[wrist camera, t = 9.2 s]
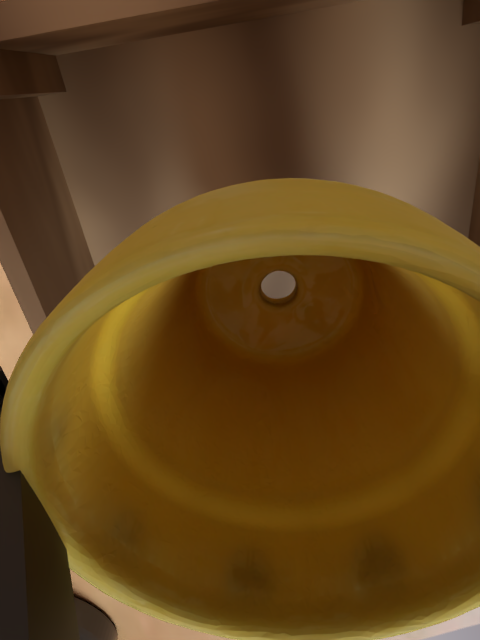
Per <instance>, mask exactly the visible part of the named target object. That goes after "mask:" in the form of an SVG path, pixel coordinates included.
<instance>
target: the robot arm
mask: <svg viewBox="0 0 480 640" xmlns="http://www.w3.org/2000/svg"><path fill="white" fill-rule="evenodd" d="M7 385H8V380H7V378H6V376H5V374H4V372H3V370H2V368H1V366H0V417H1V411H2V405H3V400H4V396H5V392H6V389H7ZM0 640H117V632H116V629H115V627H114V625H113V624H112V622H111V621H110V620H109V619H108V618H107V617H106V616H105V615H104V614H103V613H102V612H100V611H99V610H98V609H96V608H95V607H93V606H92V605H90V604H88V603H86V602H84V601H82V600H80V599H78V598H76V597H74V595H73V589H72V582H71V575H70V569H69V562H68V555H67V549H66V547H65V545H64V544H63V542H62V540H61V538H60V536H59V534H58V532H57V530H56V528H55V526H54V525H53V523H52V521H51V519H50V517H49V516H48V514H47V512H46V510H45V508H44V507H43V505H42V503H41V502H40V500H39V499H38V497H37V495H36V494H35V492H34V491H33V489H32V487H31V486H30V484H29V483H28V481H27V480H26V478H25V476H24V475H23V474H22V472H21V471H20V470H19V471H16V472H11V473H7V472H6V471H5V470H4V466H3V462H2V455H1V448H0Z"/></svg>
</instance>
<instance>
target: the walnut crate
mask: <svg viewBox="0 0 480 640" xmlns="http://www.w3.org/2000/svg"><path fill="white" fill-rule="evenodd" d="M283 178H307V179H317V180H327V181H337V182H342V183H347V184H352V185H357V186H361V187H364V188H368V189H371V190H375V191H378V192H381V193H384V194H387V195H389V196H392V197H394V198H397V199H399V200H402V201H404V202H406V203H409V204H411V205H413V206H415V207H416V208H418V209H420V210H422V211H424V212H426V213H428V214H430V215H432V216H434V217H435V218H437V219H438V220H440V221H442V222H443V223H445V224H446V225H448V226H450V227H451V228H453V229H454V230H456V231H458V232H459V233H461V234H462V235H464V236H465V237H467V238H468V239H470V240H471V241H472V242H474V243H475V244H477V245H478V246H480V0H5V1H0V262H1V265H2V267H3V269H4V271H5V273H6V276H7V278H8V280H9V282H10V284H11V287H12V289H13V291H14V293H15V296H16V298H17V300H18V302H19V304H20V307H21V309H22V311H23V313H24V315H25V318H26V320H27V322H28V324H29V326H30V329H31V331H32V333H33V334H34V333H35V332H36V330H37V329H38V327H39V326H40V325H41V324H42V323H43V321H44V320H45V319H46V318H47V317H48V316H49V314H50V313H51V312H52V311H53V310H54V309H55V308H56V306H57V305H58V304H59V303H60V302H61V301H62V300H63V299H64V298H65V297H66V295H67V294H68V293H69V292H70V291H71V290H72V289H73V288H74V287H75V286H76V285H77V284H78V283H79V282H80V281H81V280H82V278H83V277H84V276H85V275H86V274H87V273H88V272H89V271H90V270H92V269H93V268H94V267H95V266H96V265H97V264H98V263H99V262H100V261H101V260H102V259H103V258H104V257H105V256H106V255H107V254H108V253H109V252H110V251H112V250H113V249H114V248H115V247H116V246H118V245H119V244H120V243H121V242H122V241H124V240H125V239H126V238H127V237H129V236H130V235H131V234H133V233H134V232H135V231H136V230H138V229H139V228H140V227H141V226H143V225H144V224H146V223H147V222H149V221H150V220H152V219H153V218H155V217H156V216H158V215H160V214H161V213H163V212H165V211H167V210H169V209H170V208H172V207H174V206H176V205H178V204H180V203H183V202H185V201H187V200H189V199H192V198H194V197H196V196H198V195H201V194H204V193H207V192H210V191H213V190H216V189H220V188H224V187H227V186H231V185H236V184H241V183H246V182H252V181H257V180H266V179H283ZM261 288H262V291H263V292H264V294H265V295H266V296H268V297H270V298H273V299H279V298H284V297H286V296H288V295H290V294H291V293H292V292H293V290H294V288H295V279H294V277H293V276H292V275H291V274H289V273H287V272H284V271H274V272H272V273H270V274H268V275H267V276H266V277H265V278H264V279H263V281H262V283H261Z"/></svg>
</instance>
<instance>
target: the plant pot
mask: <svg viewBox="0 0 480 640" xmlns="http://www.w3.org/2000/svg"><path fill="white" fill-rule="evenodd" d="M274 271H284V272H287V273H289V274H291V275H292V276H293V277H294V279H295V288H294V290H293V292H292V293H291V294H290V295H288V296H286V297H284V298H279V299H273V298H270V297H268V296H266V295H265V294H264V292H263V291H262V288H261V283H262V281H263V279H264V278H265V277H266V276H267V275H268V274H270V273H272V272H274ZM0 448H1V455H2V462H3V466H4V470H5V471H6V472H7V473H11V472H16V471H19V470H20V471H21V472H22V474H23V475H24V476H25V478H26V480H27V481H28V483H29V484H30V486H31V487H32V489H33V491H34V492H35V494H36V495H37V497H38V499H39V500H40V502H41V503H42V505H43V507H44V508H45V510H46V512H47V514H48V516H49V517H50V519H51V521H52V523H53V525H54V526H55V528H56V530H57V532H58V534H59V536H60V538H61V540H62V542H63V544H64V545H65V547H66V549H67V555H68V562H69V568H70V569H71V570H72V571H74V572H75V573H76V574H78V575H79V576H80V577H82V578H83V579H84V580H86V581H87V582H89V583H90V584H91V585H93V586H94V587H96V588H97V589H99V590H100V591H102V592H103V593H105V594H107V595H108V596H110V597H112V598H114V599H116V600H118V601H119V602H121V603H124V604H126V605H128V606H130V607H132V608H134V609H136V610H138V611H140V612H142V613H145V614H147V615H150V616H152V617H155V618H157V619H160V620H162V621H165V622H168V623H172V624H175V625H178V626H182V627H185V628H188V629H191V630H195V631H199V632H203V633H207V634H211V635H215V636H220V637H225V638H230V639H237V640H375V639H382V638H387V637H392V636H396V635H401V634H405V633H409V632H412V631H416V630H419V629H422V628H426V627H429V626H432V625H436V624H439V623H442V622H444V621H447V620H450V619H452V618H455V617H457V616H460V615H462V614H464V613H466V612H468V611H470V610H473V609H475V608H477V607H480V246H478V245H477V244H475V243H474V242H472V241H471V240H470V239H468V238H467V237H465V236H464V235H462V234H461V233H459V232H458V231H456V230H454V229H453V228H451V227H450V226H448V225H446V224H445V223H443V222H442V221H440V220H438V219H437V218H435V217H434V216H432V215H430V214H428V213H426V212H424V211H422V210H420V209H418V208H416V207H415V206H413V205H411V204H409V203H406V202H404V201H402V200H399V199H397V198H394V197H392V196H389V195H387V194H384V193H381V192H378V191H375V190H371V189H368V188H364V187H361V186H357V185H352V184H347V183H342V182H337V181H327V180H317V179H307V178H283V179H266V180H257V181H252V182H246V183H241V184H236V185H231V186H227V187H224V188H220V189H216V190H213V191H210V192H207V193H204V194H201V195H198V196H196V197H194V198H192V199H189V200H187V201H185V202H183V203H180V204H178V205H176V206H174V207H172V208H170V209H169V210H167V211H165V212H163V213H161V214H160V215H158V216H156V217H155V218H153V219H152V220H150V221H149V222H147V223H146V224H144V225H143V226H141V227H140V228H139V229H138V230H136V231H135V232H134V233H133V234H131V235H130V236H129V237H127V238H126V239H125V240H124V241H122V242H121V243H120V244H119V245H118V246H116V247H115V248H114V249H113V250H112V251H110V252H109V253H108V254H107V255H106V256H105V257H104V258H103V259H102V260H101V261H100V262H99V263H98V264H97V265H96V266H95V267H94V268H93V269H92V270H90V271H89V272H88V273H87V274H86V275H85V276H84V277H83V278H82V280H81V281H80V282H79V283H78V284H77V285H76V286H75V287H74V288H73V289H72V290H71V291H70V292H69V293H68V294H67V295H66V297H65V298H64V299H63V300H62V301H61V302H60V303H59V304H58V305H57V306H56V308H55V309H54V310H53V311H52V312H51V313H50V314H49V316H48V317H47V318H46V319H45V320H44V321H43V323H42V324H41V325H40V326H39V327H38V329H37V330H36V332H35V333H34V334H33V336H32V337H31V339H30V340H29V342H28V343H27V345H26V347H25V349H24V350H23V352H22V354H21V355H20V357H19V359H18V361H17V363H16V366H15V368H14V370H13V372H12V375H11V377H10V379H9V381H8V385H7V389H6V392H5V396H4V400H3V405H2V411H1V417H0Z"/></svg>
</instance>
